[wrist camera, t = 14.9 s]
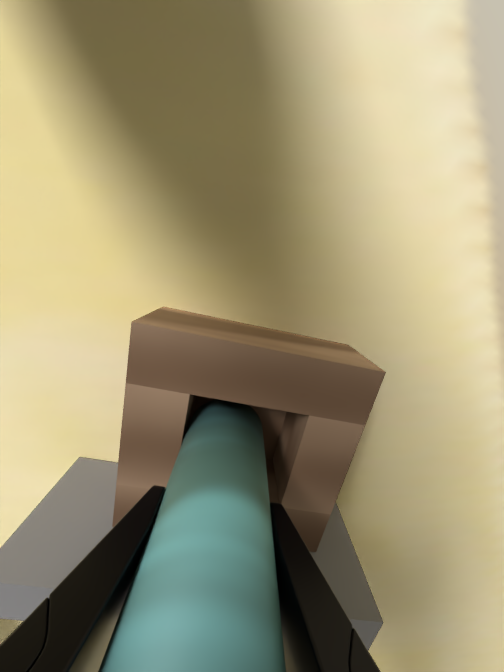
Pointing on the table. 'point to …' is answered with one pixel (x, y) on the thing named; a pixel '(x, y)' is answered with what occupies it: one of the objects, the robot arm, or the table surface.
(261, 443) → the dowel
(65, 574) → the backstop wall
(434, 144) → the table surface
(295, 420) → the pocket block
